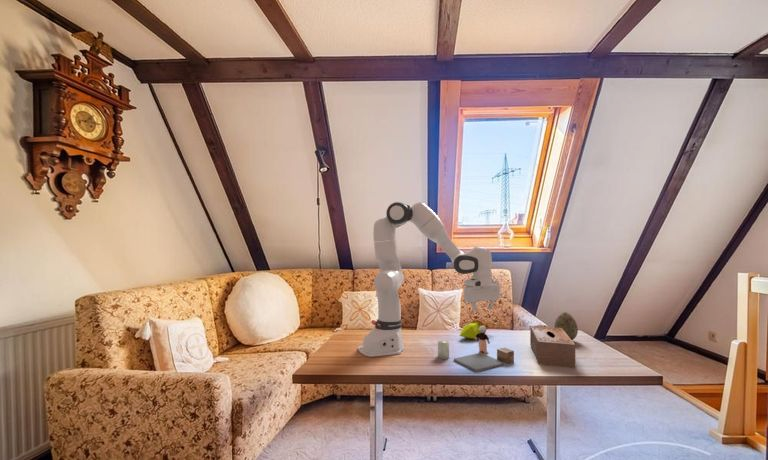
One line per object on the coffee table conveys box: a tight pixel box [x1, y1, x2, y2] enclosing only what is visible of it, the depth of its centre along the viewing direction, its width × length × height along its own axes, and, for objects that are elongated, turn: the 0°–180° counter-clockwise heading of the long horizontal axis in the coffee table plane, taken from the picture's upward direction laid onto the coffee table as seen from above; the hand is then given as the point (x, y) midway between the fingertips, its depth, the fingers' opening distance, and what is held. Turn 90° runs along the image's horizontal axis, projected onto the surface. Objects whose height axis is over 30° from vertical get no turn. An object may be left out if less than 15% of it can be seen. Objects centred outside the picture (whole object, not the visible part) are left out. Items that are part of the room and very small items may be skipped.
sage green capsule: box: [437, 339, 450, 360], centre depth 157 cm, size 5×5×7 cm
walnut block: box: [496, 347, 515, 365], centre depth 152 cm, size 5×5×5 cm
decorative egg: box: [553, 311, 579, 341], centre depth 180 cm, size 11×11×15 cm
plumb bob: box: [459, 319, 494, 340], centre depth 187 cm, size 9×9×25 cm
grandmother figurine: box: [474, 326, 491, 355], centre depth 163 cm, size 8×4×13 cm, turn 56°
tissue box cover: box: [529, 325, 576, 369], centre depth 159 cm, size 26×14×10 cm, turn 164°
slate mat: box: [453, 352, 505, 373], centre depth 150 cm, size 16×14×1 cm
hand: (482, 310), depth 163 cm, fingers open, 8 cm apart
